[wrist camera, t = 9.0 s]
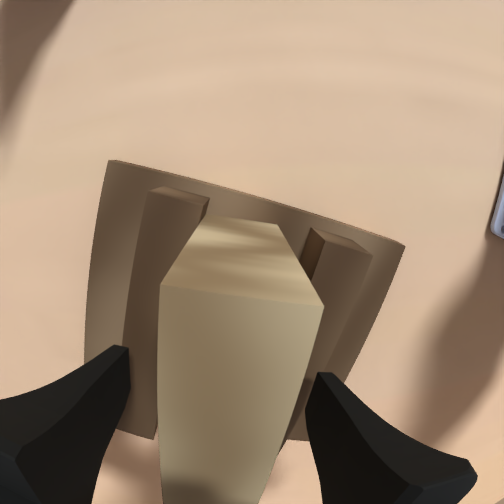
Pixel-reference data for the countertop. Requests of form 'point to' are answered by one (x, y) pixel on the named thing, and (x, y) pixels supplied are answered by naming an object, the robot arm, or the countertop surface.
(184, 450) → the beige wooden block
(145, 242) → the notched stand
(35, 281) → the countertop surface
